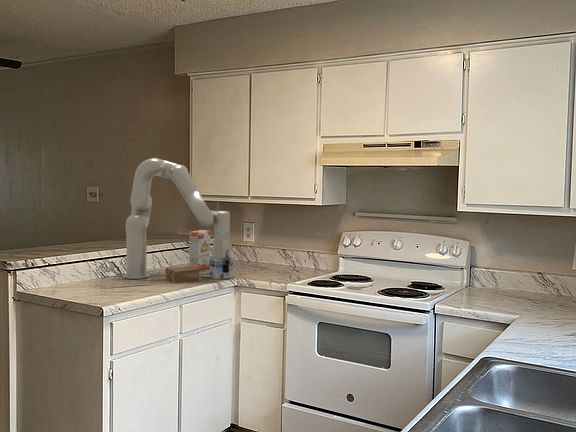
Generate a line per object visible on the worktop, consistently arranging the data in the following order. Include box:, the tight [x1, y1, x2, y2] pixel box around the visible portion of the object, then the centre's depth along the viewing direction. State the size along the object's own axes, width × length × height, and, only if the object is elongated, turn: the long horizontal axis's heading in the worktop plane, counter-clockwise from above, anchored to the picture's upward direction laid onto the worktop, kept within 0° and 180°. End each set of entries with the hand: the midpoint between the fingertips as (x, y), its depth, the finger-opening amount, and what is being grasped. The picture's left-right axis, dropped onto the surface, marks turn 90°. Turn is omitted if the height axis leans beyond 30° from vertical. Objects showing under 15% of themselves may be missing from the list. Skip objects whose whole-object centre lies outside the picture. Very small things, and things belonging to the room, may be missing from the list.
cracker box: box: [188, 229, 211, 271], centre depth 324 cm, size 14×6×21 cm, turn 161°
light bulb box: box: [208, 255, 235, 280], centre depth 298 cm, size 11×7×11 cm, turn 127°
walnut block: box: [165, 265, 200, 284], centre depth 288 cm, size 12×12×6 cm
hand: (221, 271), depth 298 cm, fingers closed on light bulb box, 6 cm apart
